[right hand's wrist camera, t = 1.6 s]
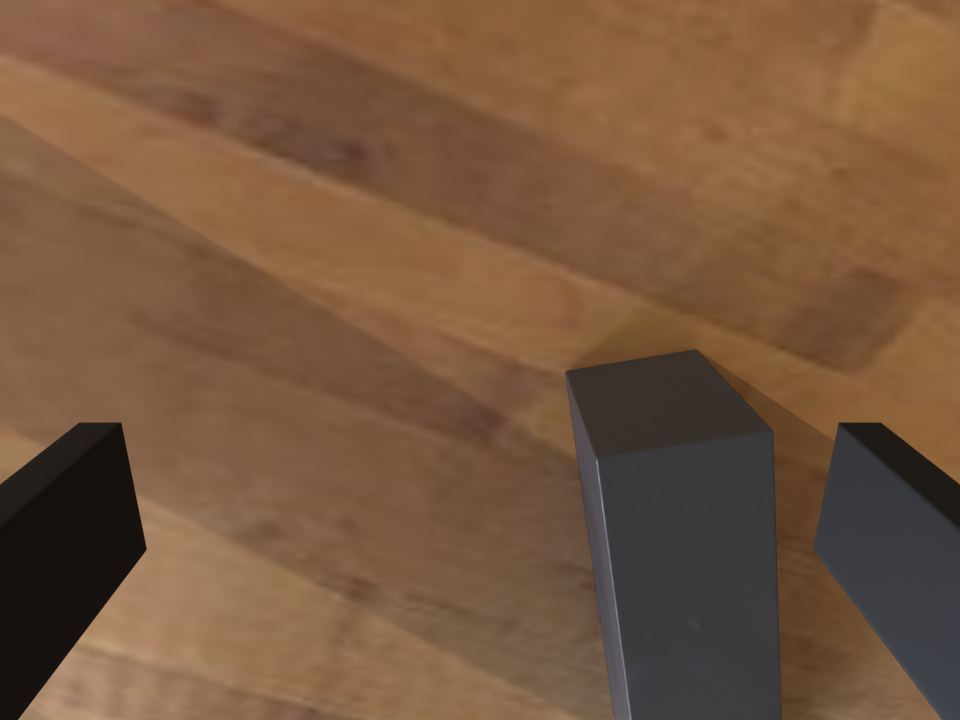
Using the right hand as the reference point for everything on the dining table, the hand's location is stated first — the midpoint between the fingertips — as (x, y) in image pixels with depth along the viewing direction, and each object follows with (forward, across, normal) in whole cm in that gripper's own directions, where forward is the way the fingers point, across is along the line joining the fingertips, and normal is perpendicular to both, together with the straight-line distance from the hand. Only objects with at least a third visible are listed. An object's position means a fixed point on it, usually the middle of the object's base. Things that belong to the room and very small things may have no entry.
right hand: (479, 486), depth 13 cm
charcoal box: (+20, -10, +21) cm, 31 cm away
